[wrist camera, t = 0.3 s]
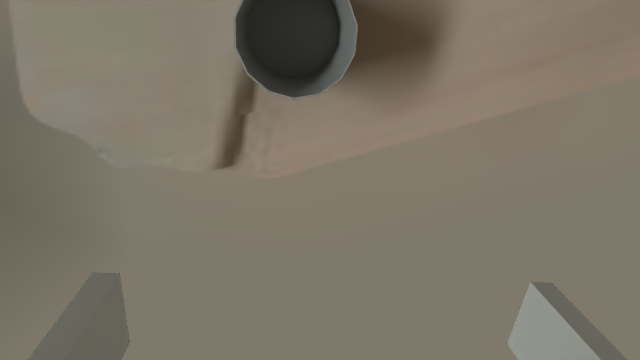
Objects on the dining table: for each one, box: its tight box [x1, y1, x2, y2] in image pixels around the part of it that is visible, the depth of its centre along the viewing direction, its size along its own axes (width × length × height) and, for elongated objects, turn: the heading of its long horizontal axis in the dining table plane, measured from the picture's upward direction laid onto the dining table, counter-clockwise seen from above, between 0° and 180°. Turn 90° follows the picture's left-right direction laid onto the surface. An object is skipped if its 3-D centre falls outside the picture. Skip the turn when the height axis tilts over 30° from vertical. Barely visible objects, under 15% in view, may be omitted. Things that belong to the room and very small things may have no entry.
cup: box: [234, 0, 358, 100], centre depth 30 cm, size 8×8×10 cm
